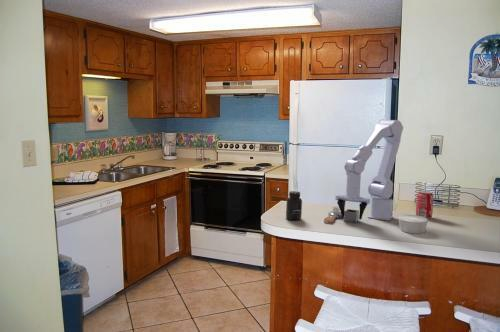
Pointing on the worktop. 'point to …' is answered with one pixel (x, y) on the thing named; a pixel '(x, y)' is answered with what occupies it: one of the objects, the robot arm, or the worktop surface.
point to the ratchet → (333, 215)
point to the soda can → (424, 204)
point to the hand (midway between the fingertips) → (351, 217)
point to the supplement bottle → (294, 206)
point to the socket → (351, 216)
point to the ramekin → (412, 224)
